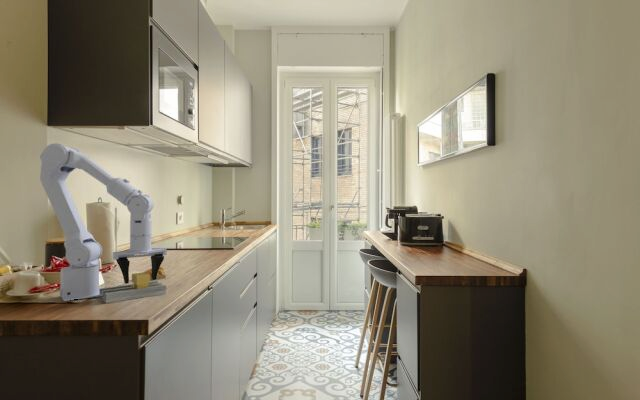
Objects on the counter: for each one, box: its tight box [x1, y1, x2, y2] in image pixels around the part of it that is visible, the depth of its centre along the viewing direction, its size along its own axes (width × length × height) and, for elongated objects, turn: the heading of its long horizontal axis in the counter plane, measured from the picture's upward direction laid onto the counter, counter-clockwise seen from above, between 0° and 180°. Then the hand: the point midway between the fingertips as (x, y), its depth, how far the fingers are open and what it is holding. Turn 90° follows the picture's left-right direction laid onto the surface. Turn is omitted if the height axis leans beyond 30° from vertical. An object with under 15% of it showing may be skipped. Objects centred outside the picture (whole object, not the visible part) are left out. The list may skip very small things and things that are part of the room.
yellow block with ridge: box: [131, 271, 151, 289], centre depth 112 cm, size 4×5×5 cm
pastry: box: [141, 266, 167, 282], centre depth 134 cm, size 9×7×4 cm
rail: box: [99, 280, 167, 304], centre depth 111 cm, size 16×8×2 cm, turn 131°
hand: (140, 281), depth 112 cm, fingers open, 7 cm apart
